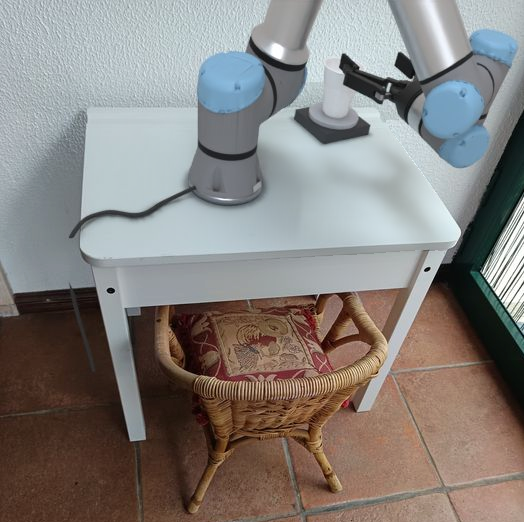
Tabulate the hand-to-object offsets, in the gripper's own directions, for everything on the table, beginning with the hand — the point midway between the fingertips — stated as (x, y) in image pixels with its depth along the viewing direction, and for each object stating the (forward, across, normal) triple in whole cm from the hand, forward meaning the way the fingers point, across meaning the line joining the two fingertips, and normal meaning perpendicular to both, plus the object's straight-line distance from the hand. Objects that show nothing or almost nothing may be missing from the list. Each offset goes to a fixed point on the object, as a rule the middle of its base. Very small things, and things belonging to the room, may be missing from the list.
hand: (370, 59), depth 102 cm
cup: (+10, 0, -16) cm, 19 cm away
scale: (+10, 0, -19) cm, 22 cm away
